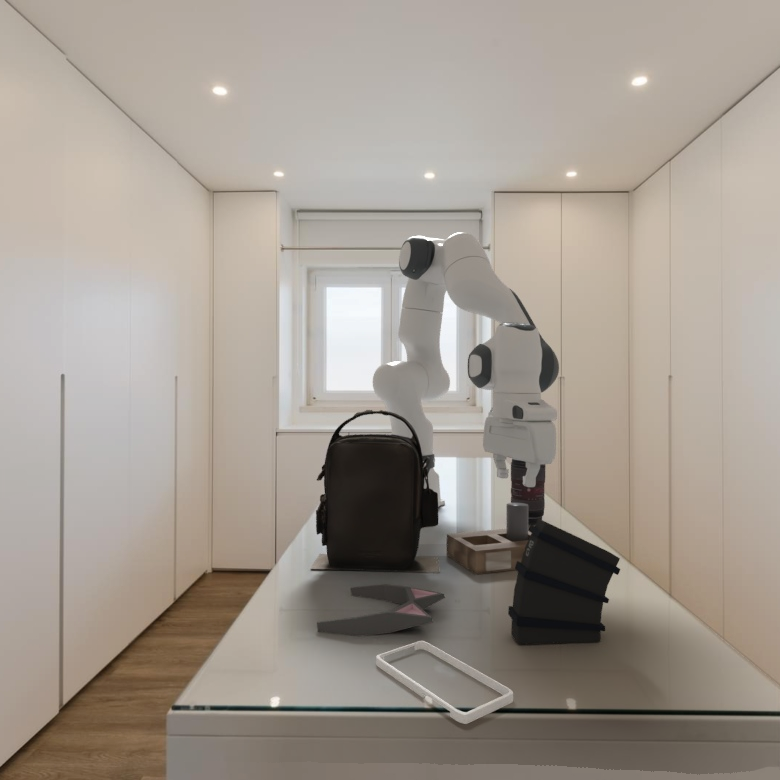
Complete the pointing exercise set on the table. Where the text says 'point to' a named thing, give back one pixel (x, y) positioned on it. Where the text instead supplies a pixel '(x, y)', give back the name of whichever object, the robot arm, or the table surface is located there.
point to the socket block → (485, 550)
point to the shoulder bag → (375, 502)
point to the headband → (387, 621)
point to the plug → (517, 522)
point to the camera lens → (528, 490)
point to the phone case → (454, 713)
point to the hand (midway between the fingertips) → (515, 482)
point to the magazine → (560, 588)
